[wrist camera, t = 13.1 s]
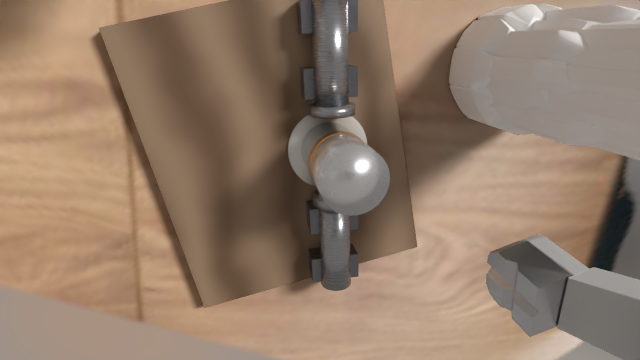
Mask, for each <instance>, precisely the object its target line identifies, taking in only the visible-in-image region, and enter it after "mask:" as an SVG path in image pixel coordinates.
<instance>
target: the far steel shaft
mask: <svg viewBox="0 0 640 360" xmlns="http://www.w3.org/2000/svg"><path fill="white" fill-rule="evenodd" d="M306 212H307V225H308V228H309V231H310V234H319V236H320V247H317V248H309V249H308V254H309V271H310V274H311V277H312V281H313V282H320V281H321V284H322V286H323V287H324V288H326V289H328V290H333V291H339V290H343V289H346V288H347V287H349V286H350V284H351V277H357V276H358V253H357V251H356V249H355V247H354V246H353V244H352V243H350V230H355V229H358V215H354V216H349V215H343V214H339V213H337V212H335V211H334V210H332V209H331V208H330V207H329V206H328V205H327V204H326V203H325V201H324V200H323V198H322V196H321V194H320V192H319V191H318V189H317V190H315V191H314V192H313V194H312V200H309V201H306Z"/></svg>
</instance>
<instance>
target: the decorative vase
mask: <svg viewBox="0 0 640 360" xmlns="http://www.w3.org/2000/svg"><path fill="white" fill-rule="evenodd" d="M449 84H451V85H450V86H449V87H450V90H451V92H452V95H453V97H454V99H455V101H456V103H457V105H458V107H459V108H460V110H461V111H462V113H463V114H464V115H466V116H467V118H469V119H472V120H475V121H478V122H481V123H484V124H487V125H490V126H492V127H495V128H498V129H501V130H504V131H507V132H510V133H514V134H517V135H520V134H534V135H537V136H540V137H544V138H547V139H550V140H553V141H556V142H559V143H563V144H566V145H569V146H593V147H597V148H600V149H604V150H607V151H610V152H614V153H617V154H620V155H624V156H627V157H630V158H633V159H637V160H640V10H636V9H632V8H627V7H622V6H617V5H607V6H595V7H584V8H573V9H561V8H559V7H555V6H551V5H547V4H544V3H535V4H526V5H518V6H511V7H503V8H500V9H497V10H494V11H491V12H488V13H486V14H484V15H482V16H479V17H478V20H475V21H473V22H472V23H471V25H470V26H469V27H468V28H467V29H466V30H465V31H464V32H463V34H462V36H461V37H460V39H459V41H458V43H457V45H456V48H455V49H454V52H453V55H452V60H451V66H450V74H449Z"/></svg>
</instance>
